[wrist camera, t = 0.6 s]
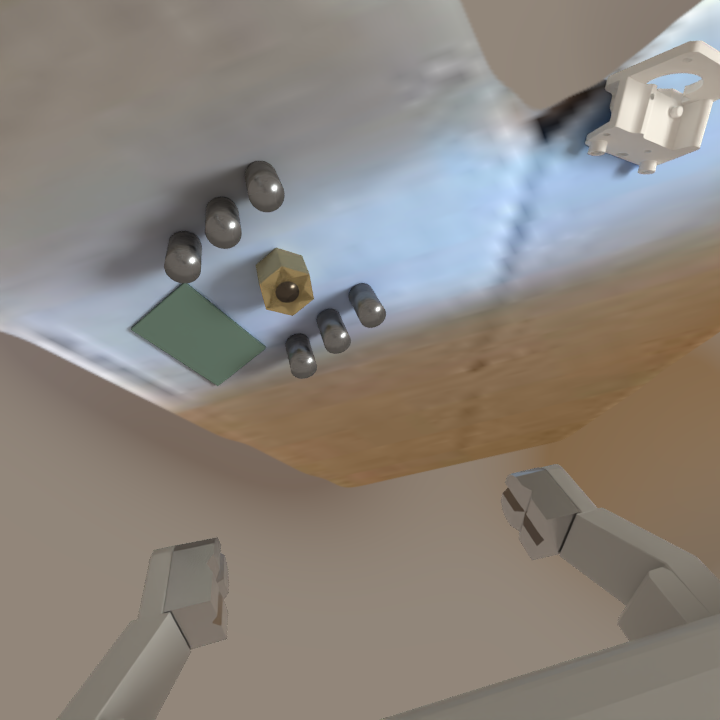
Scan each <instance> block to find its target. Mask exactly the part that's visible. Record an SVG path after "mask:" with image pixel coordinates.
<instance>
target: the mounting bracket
mask: <svg viewBox="0 0 720 720" xmlns="http://www.w3.org/2000/svg"><path fill="white" fill-rule="evenodd" d="M675 73H689V74H695V75H698V76H700V77H701V78H702V79H701V80H699V81H698V82H696V83H693V84H691V85H688V86H685V89H684V93H683V94H682V93H680V92H679V91H677V90H675V89H657V85H655V84H646V83H647V82H649V81H651V80H653V79H655V78H657V77H660V76H664V75H668V74H675ZM605 90H606V91H607V92H610V93H611V94H612V99H611V103H610V110H611V113H612V114H611V118H610V122H608V123H606V124H604V125H603V126H601V127H599V128H598V129H596V130H594V131H593V132H591V133H589V134H588V135H587V137H586V142H585V144H586V145H588V146H589V150H588V154H589V155H592V156H600V155H603V154H605V152H606V153H608V154H611V155H614V156H616V157H619V158H621V159H624V160H627V161H629V162H632V163H634V164H637V165H640V166H639V169H638V173H639V174H652V173H654V172H655V169H656V165H659V164H662V163H665V162H667V161H670V160H672V159H675V158H678V157H680V156H683V155H685V154H688V153H691V152H693V151H696V150H698V149H700V146H701V142H702V139H703V135H704V132H705V128H706V125H707V121H708V118H709V114H710V111H711V107H712V104H713V102H714V101H716V100H718V99H720V52H719V51H718V50H716V49H714V48H713V47H711V46H710V45H708V44H706V43H705V42H703V41H689V42H687V43H684V44H682V45H680V46H678V47H675V48H673V49H671V50H668V51H666V52H664V53H661V54H659V55H657V56H654V57H652V58H650V59H648V60H645V61H643V62H641V63H638V64H636V65H634V66H631V67H629V68H627V69H624V70H622V71H620V72H618V73H615V74H613V75H611V76H609V77H608V78H607V82H606V86H605Z"/></svg>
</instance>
